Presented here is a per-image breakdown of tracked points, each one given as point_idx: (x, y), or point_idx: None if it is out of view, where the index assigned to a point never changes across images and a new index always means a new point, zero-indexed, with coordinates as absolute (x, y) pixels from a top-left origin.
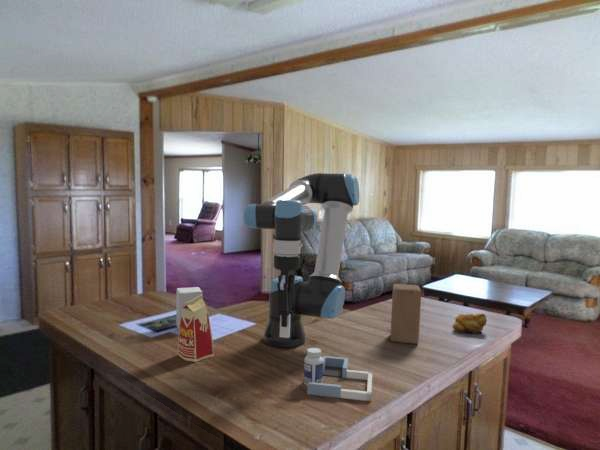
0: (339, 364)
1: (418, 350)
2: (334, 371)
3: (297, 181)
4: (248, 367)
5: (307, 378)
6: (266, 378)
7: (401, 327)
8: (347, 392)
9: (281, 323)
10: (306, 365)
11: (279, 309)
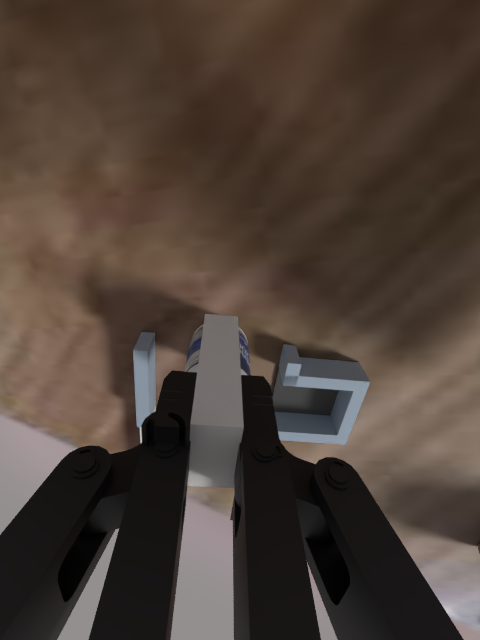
0: (336, 411)
1: (437, 543)
2: (303, 394)
3: None
4: (345, 80)
5: (192, 342)
6: (235, 188)
7: None
8: (140, 429)
9: (162, 388)
10: (191, 363)
11: (26, 514)
